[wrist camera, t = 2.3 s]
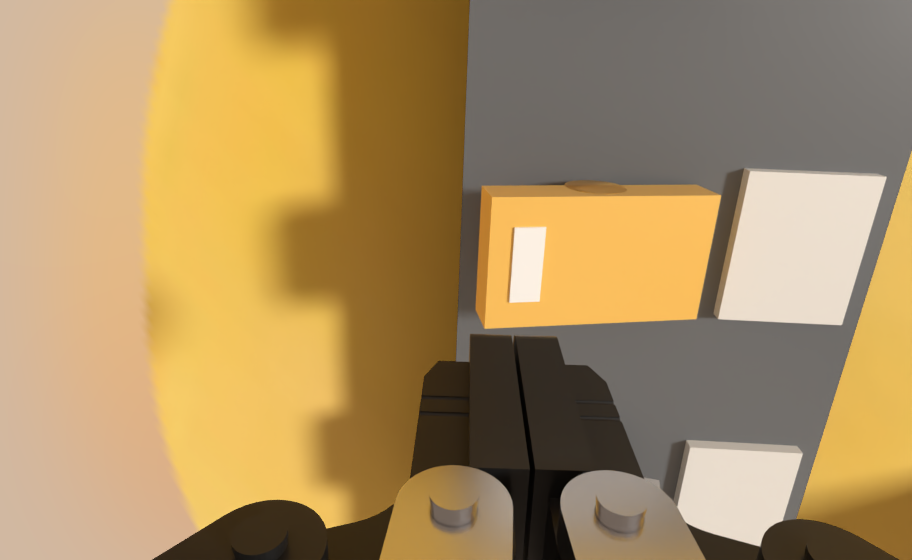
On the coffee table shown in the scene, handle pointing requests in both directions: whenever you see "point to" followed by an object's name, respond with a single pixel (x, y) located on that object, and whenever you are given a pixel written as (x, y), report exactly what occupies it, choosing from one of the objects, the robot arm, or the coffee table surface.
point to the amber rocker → (592, 253)
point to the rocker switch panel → (739, 216)
